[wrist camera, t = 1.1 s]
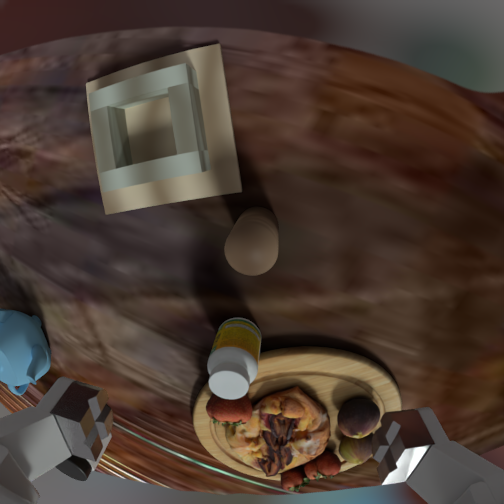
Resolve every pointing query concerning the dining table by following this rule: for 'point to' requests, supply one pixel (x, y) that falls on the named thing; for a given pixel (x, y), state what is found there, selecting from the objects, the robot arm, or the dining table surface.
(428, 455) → the robot arm
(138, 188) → the socket board
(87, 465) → the jar
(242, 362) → the supplement bottle
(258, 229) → the peg
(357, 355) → the wooden plate with food
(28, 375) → the teapot
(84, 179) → the dining table surface
